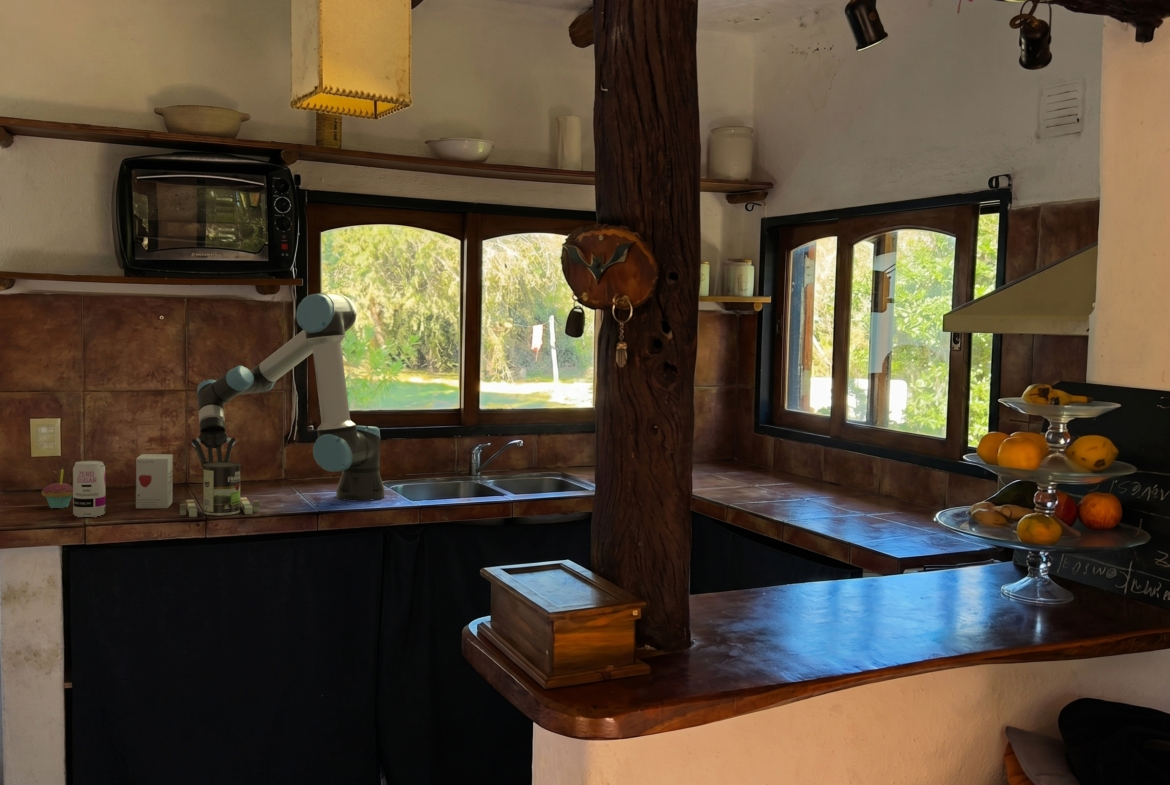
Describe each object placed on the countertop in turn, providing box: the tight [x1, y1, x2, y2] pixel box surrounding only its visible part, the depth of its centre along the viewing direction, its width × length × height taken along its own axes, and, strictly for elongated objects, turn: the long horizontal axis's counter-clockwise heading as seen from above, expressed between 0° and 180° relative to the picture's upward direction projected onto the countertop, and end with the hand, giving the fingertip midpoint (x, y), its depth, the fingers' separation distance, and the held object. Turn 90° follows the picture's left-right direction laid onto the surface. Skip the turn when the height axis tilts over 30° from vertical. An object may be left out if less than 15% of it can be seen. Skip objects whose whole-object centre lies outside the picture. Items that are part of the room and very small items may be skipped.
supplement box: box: [135, 453, 174, 509], centre depth 303 cm, size 9×9×15 cm
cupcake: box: [41, 467, 73, 509], centre depth 297 cm, size 9×8×12 cm
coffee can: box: [202, 461, 242, 516], centre depth 297 cm, size 10×10×14 cm
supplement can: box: [72, 460, 107, 518], centre depth 287 cm, size 8×8×15 cm
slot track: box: [179, 496, 260, 518], centre depth 300 cm, size 16×22×3 cm
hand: (217, 484), depth 305 cm, fingers closed
